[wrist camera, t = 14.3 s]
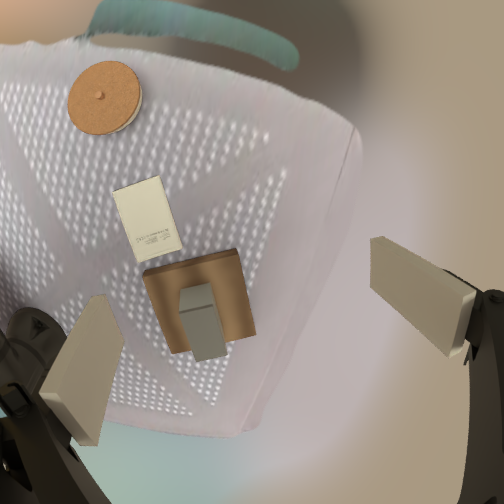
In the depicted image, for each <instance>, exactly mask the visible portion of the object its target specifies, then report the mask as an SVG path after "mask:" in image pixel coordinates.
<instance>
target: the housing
mask: <svg viewBox="0 0 504 504" xmlns="http://www.w3.org/2000/svg"><path fill="white" fill-rule="evenodd" d="M179 316H180V319H181V322H182V325H183V328H184V330H185V333H186V336H187V339H188V341H189V344H190V347H191V349H192V352H193V355H194V357H195V360H196V362H199V361H204V360H208V359H213V358H217V357H222V356H226V355H228V354H227V349H226V344H225V338H224V333H223V327H222V324H221V320H220V317H219V313H218V310H217V306H216V302H215V299H214V295H213V291H212V288H211V284H210V283H206V284H202V285H197V286H193V287H189V288H184V289H181V290H180V303H179Z"/></svg>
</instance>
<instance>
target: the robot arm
mask: <svg viewBox="0 0 504 504" xmlns="http://www.w3.org/2000/svg"><path fill="white" fill-rule="evenodd" d="M370 243H371V271H370V272H371V273H370V288H372V289H373V290H374V291H375V292H376V293H377V294H378V295H380V296H381V297H382V298H383V299H384V300H385V301H386V302H388V303H389V304H390V305H391V306H392V307H393V308H394V309H395V310H397V311H398V312H399V313H400V314H401V315H402V316H403V317H404V318H405V319H407V320H408V321H409V322H410V323H411V324H412V325H413V326H414V327H415V328H416V329H418V330H419V331H420V332H421V333H422V334H423V335H424V336H425V337H426V338H427V339H428V340H430V341H431V342H432V343H433V344H434V345H435V346H436V347H437V348H438V349H439V350H440V351H441V352H442V353H443V354H444V355H445V356H446V357H448V358H450V357H452V356H454V355H455V354H457V353H459V352H461V350H462V347H463V344H464V340H465V339H466V340H467V341H469V342H470V345H469V349H468V352H467V355H466V358H465V361H464V365H466V363H467V361H468V360H469V376H470V415H469V433H468V434H469V435H468V446H467V456H466V464H465V471H464V478H463V485H462V490H461V494H460V498H459V501H458V503H457V504H504V292H502V291H500V290H495V289H493V290H487V291H485V292H482V291H481V290H479V289H478V288H476V287H474V286H473V285H471V284H470V283H468V282H466V281H463V279H461V278H460V277H457V276H456V275H454V274H453V273H451V272H450V271H447V270H444V269H441V268H439V267H437V266H435V265H434V264H432V263H430V262H428V261H427V260H425V259H423V258H421V257H420V256H418V255H416V254H414V253H413V252H410V251H409V250H407V249H406V248H404V247H402V246H400V245H398V244H396V243H394V242H393V241H391V240H389V239H387V238H385V237H383V236H381V237H376V238H372V239H370ZM123 344H124V339H123V337H122V335H121V332H120V330H119V328H118V325H117V323H116V320H115V318H114V315H113V313H112V310H111V308H110V305H109V303H108V300H107V297H106V295H105V294H103V295H98V296H93V297H91V299H90V300H89V302H88V304H87V305H86V307H85V308H84V310H83V312H82V313H81V315H80V317H79V318H78V320H77V322H76V324H75V325H74V327H73V329H72V330H71V332H70V334H69V336H68V337H66V335H65V333H64V331H63V330H62V328H61V327H60V326H59V325H58V323H57V322H56V321H55V320H54V319H52V318H51V317H50V316H49V315H47V314H46V313H44V312H42V311H40V310H38V309H34V308H23V309H20V310H18V311H17V312H16V313H15V314H14V315H13V317H12V318H11V319H10V321H9V324H8V328H7V331H6V335H4V334H3V332H2V331H1V329H0V504H111V502H110V501H109V499H108V498H107V497H106V496H105V494H104V493H103V492H102V490H101V489H100V487H99V486H98V485H97V483H96V482H95V480H94V479H93V478H92V476H91V475H90V473H89V472H88V470H87V469H86V467H85V466H84V464H83V462H82V461H81V459H80V458H79V456H78V455H77V453H76V451H75V450H74V448H73V447H72V446H71V445H70V441H71V437H73V438H74V439H75V440H76V442H77V443H78V444H79V445H80V446H97V445H98V441H99V436H100V431H101V427H102V422H103V418H104V414H105V410H106V406H107V402H108V398H109V394H110V390H111V386H112V383H113V379H114V375H115V372H116V368H117V365H118V361H119V358H120V354H121V351H122V348H123ZM3 463H4V464H5V465H6V470H5V468H4V466H3Z"/></svg>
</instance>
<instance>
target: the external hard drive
mask: <svg viewBox="0 0 504 504" xmlns="http://www.w3.org/2000/svg"><path fill="white" fill-rule="evenodd" d="M112 194H113V197H114V200H115V203H116V206H117V209H118V212H119V214H120V217H121V220H122V223H123V226H124V228H125V231H126V234H127V237H128V239H129V242H130V244H131V247H132V250H133V252H134V255H135V257H136V260H137V262H138V263H139V262H143V261H146V260H149V259H152V258H155V257H158V256H161V255H164V254H167V253H170V252H174V251H177V250H180V249H182V248H183V245H182V242H181V240H180V237H179V234H178V231H177V228H176V225H175V221H174V218H173V215H172V212H171V209H170V206H169V203H168V200H167V197H166V194H165V190H164V187H163V184H162V181H161V178H160V175H158V176H155V177H152V178H149V179H146V180H144V181H141V182H138V183H135V184H132V185H130V186H127V187H124V188H122V189H119V190H116V191H114V192H112Z"/></svg>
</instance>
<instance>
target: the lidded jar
mask: <svg viewBox="0 0 504 504" xmlns="http://www.w3.org/2000/svg"><path fill="white" fill-rule="evenodd" d="M141 103H142V89H141V85H140V82H139V81H138V78H137V76H136V74H135V73H134V72H133V71H132V69H131V68H129V67H128V66H127V65H125V64H123V63H120V62H117V61H104V62H100V63H97V64H95V65H93V66H91V67H89V68H88V69H86V70H85V71H84V72H83V73H82V74H81V75H80V76H79V77H78V78H77V79H76V81H75V82H74V84H73V86H72V88H71V90H70V93H69V97H68V113H69V116H70V118H71V120H72V122H73V123H74V125H75V126H76V127H77V128H78V129H79V130H81V131H83V132H85V133H88V134H92V135H106V134H111V133H115V132H117V131H120V130H122V129H123V128H125V127H126V126H127V125H129V124H130V123H131V122H132V121H133V119H134V118H135V117H136V115H137V114H138V112H139V110H140V106H141Z"/></svg>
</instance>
